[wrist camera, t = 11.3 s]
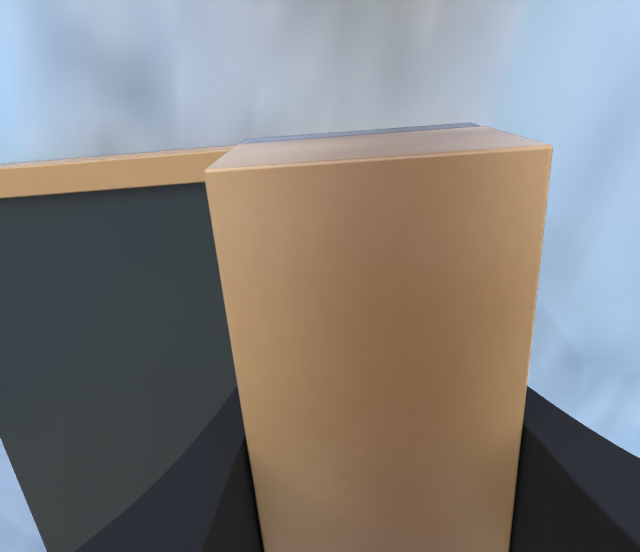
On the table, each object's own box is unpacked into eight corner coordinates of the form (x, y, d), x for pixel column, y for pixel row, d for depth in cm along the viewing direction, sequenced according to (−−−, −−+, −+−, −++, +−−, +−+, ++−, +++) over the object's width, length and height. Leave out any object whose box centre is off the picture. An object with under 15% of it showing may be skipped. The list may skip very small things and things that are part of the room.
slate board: (89, 625, 26) (79, 649, 25) (-91, 171, 17) (-119, 177, 16) (455, 603, 26) (461, 626, 25) (475, 125, 17) (486, 128, 16)
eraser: (296, 566, 14) (289, 713, 11) (242, 138, 9) (201, 169, 6) (452, 558, 14) (492, 704, 11) (473, 122, 9) (555, 144, 6)
